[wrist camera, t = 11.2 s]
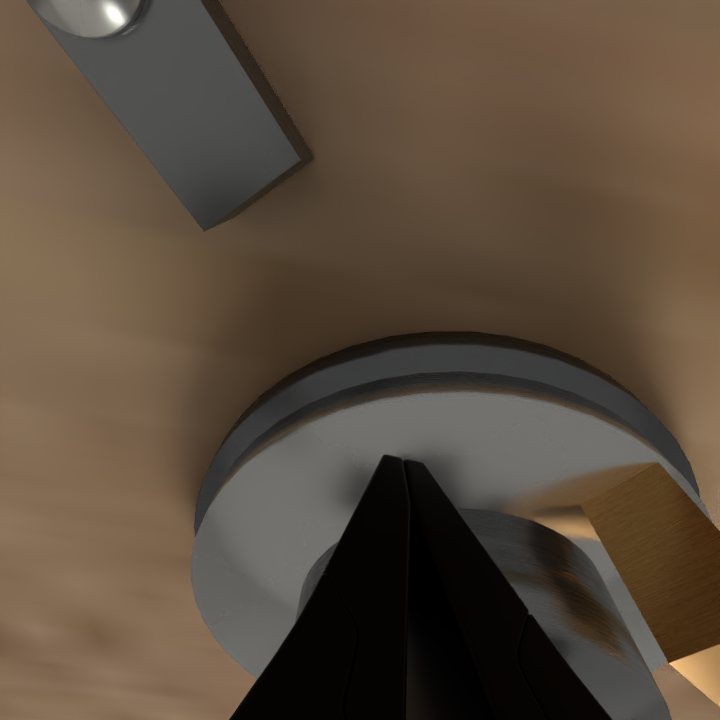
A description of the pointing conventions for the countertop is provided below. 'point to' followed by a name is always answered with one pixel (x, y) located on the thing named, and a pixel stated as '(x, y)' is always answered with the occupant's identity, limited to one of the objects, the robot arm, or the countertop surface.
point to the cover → (561, 609)
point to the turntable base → (430, 357)
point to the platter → (464, 505)
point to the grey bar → (184, 96)
